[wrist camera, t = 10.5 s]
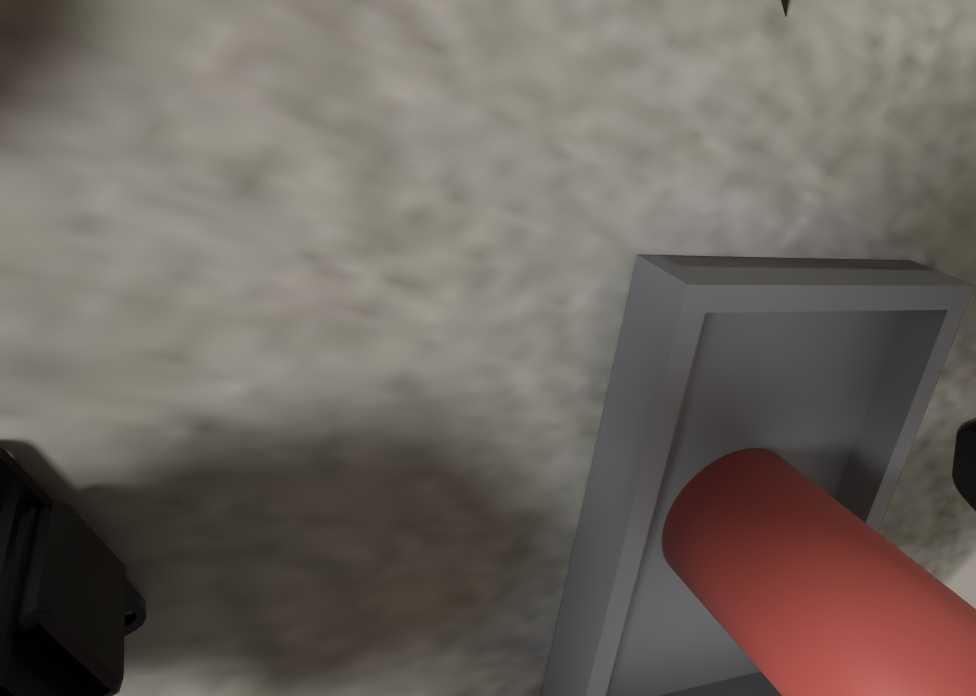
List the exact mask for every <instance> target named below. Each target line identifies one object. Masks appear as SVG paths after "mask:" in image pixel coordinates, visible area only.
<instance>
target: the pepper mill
mask: <svg viewBox="0 0 976 696" xmlns="http://www.w3.org/2000/svg"><path fill="white" fill-rule="evenodd" d="M662 550H663V554H664V557H665V559H666V562H667V563H668V565H669V566H670V567H671V568H672V570H673V571H674V572H675V573H676V574H677V575H678V576H679V578H680V579H681V580H682V581H683V582H684V583H685V585H686V586H687V587H688V588H689V589H690V590H691V591H692V593H693V594H694V595H695V596H696V597H697V598H698V600H699V601H700V602H701V603H702V604H703V605H704V606H705V608H706V609H707V610H708V611H709V612H710V613H711V615H712V616H713V617H714V618H715V619H716V620H717V621H718V623H719V624H720V625H721V626H722V627H723V628H724V629H725V631H726V632H727V633H728V634H729V635H730V636H731V638H732V639H733V640H734V641H735V642H736V643H737V644H738V646H739V647H740V648H741V649H742V650H743V651H744V653H745V654H746V655H747V656H748V657H749V658H750V659H751V661H752V662H753V663H754V664H755V665H756V666H757V667H758V669H759V670H760V671H761V672H762V673H763V674H764V676H765V677H766V678H767V679H768V680H769V681H770V682H771V684H772V685H773V686H774V687H775V688H776V689H777V691H778V692H779V693H780V694H781V695H782V696H976V609H975V608H973V607H972V606H971V605H970V604H968V603H967V602H966V601H964V600H963V599H962V598H961V597H959V596H958V595H957V594H956V593H954V592H953V591H952V590H950V589H949V588H948V587H947V586H945V585H944V584H943V583H941V582H940V581H939V580H938V579H936V578H935V577H934V576H933V575H931V574H930V573H929V572H927V571H926V570H925V569H924V568H922V567H921V566H920V565H918V564H917V563H916V562H915V561H913V560H912V559H911V558H910V557H908V556H907V555H906V554H904V553H903V552H902V551H901V550H899V549H898V548H897V547H895V546H894V545H893V544H892V543H890V542H889V541H888V540H887V539H885V538H884V537H883V536H881V535H880V534H879V533H878V532H876V531H875V530H874V529H872V528H871V527H870V526H869V525H867V524H866V523H865V522H863V521H862V520H861V519H860V518H858V517H857V516H856V515H855V514H853V513H852V512H851V511H849V510H848V509H847V508H846V507H844V506H843V505H842V504H840V503H839V502H838V501H837V500H835V499H834V498H833V497H832V496H830V495H829V494H828V493H826V492H825V491H824V490H823V489H821V488H820V487H819V486H817V485H816V484H815V483H814V482H812V481H811V480H810V479H809V478H807V477H806V476H805V475H803V474H802V473H801V472H800V471H798V470H797V469H796V468H794V467H793V466H792V465H791V464H789V463H788V462H787V461H786V460H784V459H783V458H782V457H780V456H779V455H778V454H776V453H774V452H772V451H769V450H766V449H759V448H754V449H744V450H739V451H736V452H733V453H730V454H728V455H725V456H723V457H721V458H719V459H717V460H716V461H714V462H712V463H711V464H709V465H708V466H706V467H705V468H704V469H702V470H701V471H700V472H699V473H698V474H696V475H695V476H694V477H693V478H692V479H691V480H690V481H689V482H688V483H687V485H686V486H685V487H684V488H683V489H682V491H681V492H680V493H679V495H678V496H677V498H676V499H675V501H674V503H673V504H672V506H671V508H670V510H669V512H668V514H667V517H666V520H665V523H664V527H663V531H662Z"/></svg>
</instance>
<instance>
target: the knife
mask: <svg viewBox="0 0 976 696" xmlns="http://www.w3.org/2000/svg"><path fill="white" fill-rule="evenodd" d="M781 1H782V5H783V9H784V13H785V17H786V13H787V9H788V5H789V0H781Z"/></svg>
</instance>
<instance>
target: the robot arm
mask: <svg viewBox="0 0 976 696" xmlns="http://www.w3.org/2000/svg"><path fill="white" fill-rule="evenodd" d="M952 477H953V481H954V484H955V486H956V488H957V490H958V491H959V493H960V494H961V495H962V497H963V498H964V499H965V500H966V501H967V502H968V503H969V504H970V506H971V507H972V508H973V509H974V510H975V511H976V418H974V419H972V420H969V421H967V422H965V423H963V424H962V425H961V426H960V427H959V429H958V431H957V436H956V444H955V453H954V461H953V470H952ZM125 574H126V568H125V565H124V564H123V563H122V562H121V561H120V560H119V559H118V558H117V556H116V555H115V554H114V553H113V552H112V551H111V550H110V549H109V548H108V547H107V546H106V545H105V543H104V542H103V541H102V540H101V539H100V538H99V537H98V536H97V535H96V534H95V533H94V532H93V530H92V529H91V528H90V527H89V526H88V525H87V524H86V523H85V522H84V521H83V520H82V519H81V517H80V516H79V515H78V514H77V513H76V512H75V511H74V510H73V509H72V508H71V507H70V506H69V505H68V504H66V503H63V502H59V501H52V500H51V499H50V498H49V497H48V495H47V494H46V493H45V492H44V491H43V490H42V489H41V488H40V487H39V486H38V485H37V484H36V483H35V482H34V480H33V479H32V478H31V477H30V476H29V475H28V474H27V473H26V472H25V471H24V470H23V469H22V468H21V467H20V466H19V464H18V463H17V462H16V461H15V460H14V459H13V458H12V457H11V456H10V455H9V454H8V453H7V452H6V451H5V450H3V449H2V448H0V696H114V695H115V694H117V693H119V691H120V687H121V684H122V681H123V674H124V636H126V635H128V634H129V633H131V632H133V631H135V630H136V629H138V628H139V627H140V626H141V625H143V623H144V621H145V620H146V602H145V600H144V598H143V597H142V596H141V595H140V594H139V593H138V592H137V591H136V589H135V588H134V587H133V586H132V585H131V584H130V583H129V582H128V581H127V580H126V579H125ZM125 610H129V611H132V612H133V613H132V614H129V615H125Z"/></svg>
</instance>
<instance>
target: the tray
mask: <svg viewBox="0 0 976 696" xmlns="http://www.w3.org/2000/svg"><path fill="white" fill-rule="evenodd" d="M974 287H975V286H974V285H971V284H969V283H966V282H963V281H961V280H958V279H956V278H953V277H951V276H948V275H946V274H943V273H940V272H938V271H935V270H933V269H930V268H928V267H925V266H923V265H920V264H917V263H915V262H912V261H897V260H850V259H804V258H757V257H710V256H664V255H637V260H636V265H635V269H634V274H633V278H632V283H631V288H630V292H629V297H628V301H627V306H626V310H625V315H624V320H623V324H622V329H621V333H620V338H619V342H618V347H617V352H616V356H615V361H614V365H613V370H612V374H611V379H610V384H609V388H608V393H607V397H606V402H605V406H604V411H603V416H602V420H601V425H600V429H599V434H598V438H597V443H596V448H595V452H594V457H593V461H592V466H591V470H590V475H589V480H588V484H587V489H586V493H585V498H584V502H583V507H582V512H581V516H580V521H579V525H578V530H577V535H576V539H575V544H574V548H573V553H572V557H571V562H570V567H569V571H568V576H567V580H566V585H565V589H564V594H563V599H562V603H561V608H560V612H559V617H558V621H557V626H556V631H555V635H554V640H553V644H552V649H551V653H550V658H549V663H548V667H547V672H546V676H545V681H544V685H543V690H542V695H541V696H782V695H781V694H780V693H779V692H778V691H777V689H776V688H775V687H774V686H773V685H772V684H771V682H770V681H769V680H768V679H767V678H766V677H765V676H764V674H763V673H762V672H761V671H760V670H759V669H758V667H757V666H756V665H755V664H754V663H753V662H752V661H751V659H750V658H749V657H748V656H747V655H746V654H745V653H744V651H743V650H742V649H741V648H740V647H739V646H738V644H737V643H736V642H735V641H734V640H733V639H732V638H731V636H730V635H729V634H728V633H727V632H726V631H725V629H724V628H723V627H722V626H721V625H720V624H719V623H718V621H717V620H716V619H715V618H714V617H713V616H712V615H711V613H710V612H709V611H708V610H707V609H706V608H705V606H704V605H703V604H702V603H701V602H700V601H699V600H698V598H697V597H696V596H695V595H694V594H693V593H692V591H691V590H690V589H689V588H688V587H687V586H686V585H685V583H684V582H683V581H682V580H681V579H680V578H679V576H678V575H677V574H676V573H675V572H674V571H673V570H672V568H671V567H670V566H669V565H668V563H667V562H666V559H665V557H664V554H663V550H662V531H663V527H664V523H665V520H666V517H667V514H668V512H669V510H670V508H671V506H672V504H673V503H674V501H675V499H676V498H677V496H678V495H679V493H680V492H681V491H682V489H683V488H684V487H685V486H686V485H687V483H688V482H689V481H690V480H691V479H692V478H693V477H694V476H695V475H696V474H698V473H699V472H700V471H701V470H702V469H704V468H705V467H706V466H708V465H709V464H711V463H712V462H714V461H716V460H717V459H719V458H721V457H723V456H725V455H728V454H730V453H733V452H736V451H739V450H744V449H754V448H759V449H766V450H769V451H772V452H774V453H776V454H778V455H779V456H780V457H782V458H783V459H784V460H786V461H787V462H788V463H789V464H791V465H792V466H793V467H794V468H796V469H797V470H798V471H800V472H801V473H802V474H803V475H805V476H806V477H807V478H809V479H810V480H811V481H812V482H814V483H815V484H816V485H817V486H819V487H820V488H821V489H823V490H824V491H825V492H826V493H828V494H829V495H830V496H832V497H833V498H834V499H835V500H837V501H838V502H839V503H840V504H842V505H843V506H844V507H846V508H847V509H848V510H849V511H851V512H852V513H853V514H855V515H856V516H857V517H858V518H860V519H861V520H862V521H863V522H865V523H866V524H867V525H869V526H870V527H871V528H872V529H874V530H875V531H876V532H878V530H879V527H880V525H881V522H882V519H883V517H884V514H885V512H886V509H887V507H888V504H889V502H890V499H891V497H892V494H893V492H894V489H895V487H896V484H897V482H898V479H899V476H900V474H901V471H902V469H903V466H904V464H905V461H906V459H907V456H908V454H909V451H910V449H911V446H912V444H913V441H914V439H915V436H916V434H917V431H918V428H919V426H920V423H921V421H922V418H923V416H924V413H925V411H926V408H927V406H928V403H929V401H930V398H931V396H932V393H933V391H934V388H935V385H936V383H937V380H938V378H939V375H940V373H941V370H942V368H943V365H944V363H945V360H946V358H947V355H948V353H949V350H950V348H951V345H952V343H953V340H954V337H955V335H956V332H957V330H958V327H959V325H960V322H961V320H962V317H963V315H964V312H965V310H966V307H967V305H968V302H969V300H970V297H971V294H972V292H973V289H974Z"/></svg>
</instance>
